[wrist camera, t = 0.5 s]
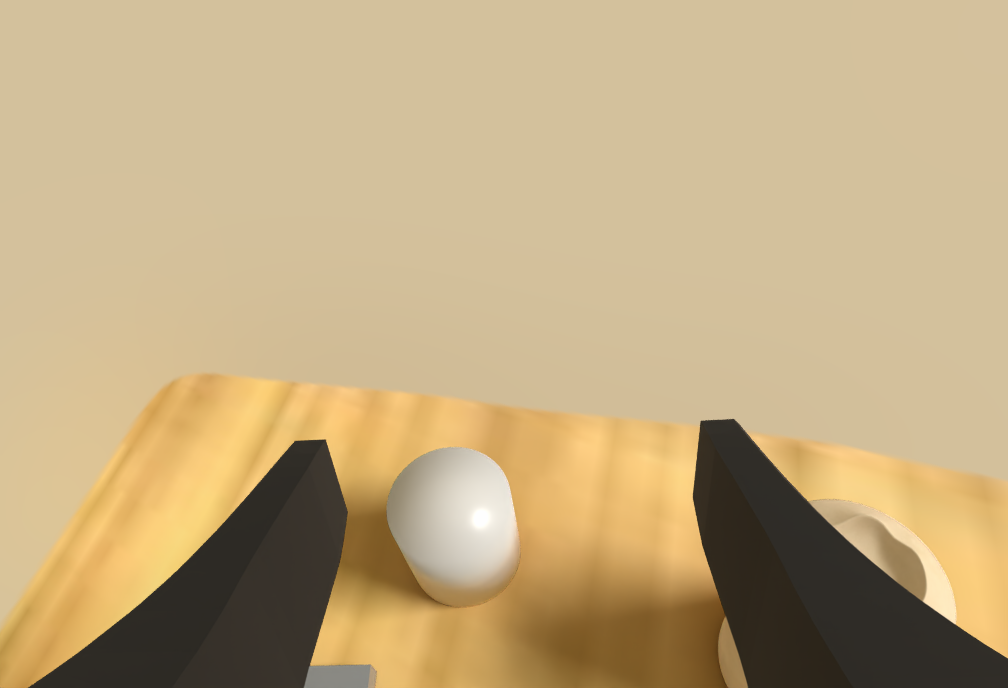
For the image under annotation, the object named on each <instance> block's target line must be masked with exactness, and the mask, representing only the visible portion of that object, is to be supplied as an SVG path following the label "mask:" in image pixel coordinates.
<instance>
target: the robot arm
mask: <svg viewBox="0 0 1008 688" xmlns="http://www.w3.org/2000/svg"><path fill="white" fill-rule="evenodd" d="M693 501H694V506H695V511H696V516H697V521H698V526H699V531H700V536H701V540H702V545H703V549H704V552H705V555H706V558H707V561H708V564H709V567H710V570H711V573H712V576H713V580H714V583H715V586H716V589H717V592H718V595H719V598H720V601H721V604H722V606H723V609H724V612H725V615H726V618H727V621H728V624H729V627H730V630H731V633H732V636H733V639H734V642H735V645H736V648H737V651H738V654H739V657H740V661H741V664H742V668H743V671H744V675H745V678H746V682H747V686H748V688H1008V658H1006V657H1004V656H1003V655H1001V654H1000V653H998V652H996V651H995V650H993V649H992V648H990V647H988V646H987V645H985V644H984V643H982V642H980V641H979V640H977V639H976V638H974V637H973V636H971V635H970V634H968V633H967V632H965V631H964V630H962V629H961V628H960V627H958V626H957V625H955V624H954V623H953V622H951V621H950V620H948V619H947V618H945V617H944V616H943V615H941V614H940V613H938V612H937V611H936V610H934V609H933V608H931V607H930V606H928V605H927V604H926V603H924V602H923V601H921V600H920V599H919V598H917V597H916V596H915V595H913V594H912V593H911V592H909V591H908V590H907V589H905V588H904V587H903V586H901V585H900V584H899V583H898V582H896V581H895V580H894V579H893V578H891V577H890V576H889V575H888V574H887V573H885V572H884V571H883V570H882V569H880V568H879V567H878V566H877V565H876V564H874V563H873V562H872V561H871V560H870V559H868V558H867V557H866V556H865V555H864V554H863V553H862V552H860V551H859V550H858V549H857V548H856V547H855V546H854V545H853V544H852V543H850V542H849V541H848V540H847V539H846V538H845V537H844V536H843V535H842V534H841V533H840V532H839V531H838V530H836V529H835V528H834V527H833V526H832V525H831V524H830V523H829V522H828V521H827V520H826V519H825V518H824V517H823V516H822V515H821V514H820V513H819V512H818V511H817V510H816V509H815V508H814V507H813V506H812V505H811V504H810V503H809V502H808V501H807V500H806V499H805V498H804V497H803V496H802V495H801V494H800V493H799V492H798V491H797V489H796V488H795V487H794V486H793V485H792V484H791V483H790V482H789V481H788V480H787V479H786V478H785V477H784V476H783V474H782V473H781V472H780V471H779V470H778V469H777V468H776V467H775V466H774V464H773V463H772V462H771V461H770V460H769V459H768V458H767V456H766V455H765V454H764V453H763V452H762V451H761V450H760V448H759V447H758V446H757V445H756V444H755V442H754V441H753V440H752V439H751V438H750V436H749V435H748V434H747V433H746V432H745V430H744V429H743V428H742V427H741V426H740V425H739V424H738V423H737V422H736V421H735V420H734V419H729V420H728V419H727V420H708V421H707V420H706V421H701V423H700V433H699V442H698V452H697V461H696V471H695V481H694V490H693ZM347 513H348V511H347V508H346V505H345V502H344V498H343V495H342V492H341V488H340V485H339V482H338V479H337V475H336V472H335V469H334V465H333V462H332V459H331V456H330V452H329V449H328V446H327V442H326V439H325V440H305V441H295V442H294V443H293V444H292V445H291V446H290V447H289V448H288V450H287V451H286V452H285V453H284V454H283V455H282V456H281V458H280V459H279V460H278V461H277V462H276V463H275V465H274V466H273V467H272V468H271V469H270V470H269V472H268V473H267V474H266V475H265V476H264V478H263V479H262V480H261V481H260V482H259V483H258V485H257V486H256V487H255V488H254V489H253V490H252V492H251V493H250V494H249V495H248V496H247V497H246V498H245V500H244V501H243V502H242V503H241V504H240V505H239V506H238V507H237V509H236V510H235V511H234V512H233V513H232V514H231V515H230V516H229V517H228V519H227V520H226V521H225V522H224V523H223V524H222V525H221V526H220V527H219V528H218V530H217V531H216V532H215V533H214V534H213V535H212V536H211V537H210V538H209V539H208V540H207V541H206V542H205V543H204V544H203V545H202V546H201V547H200V548H199V549H198V550H197V551H196V552H195V553H194V554H193V555H192V556H191V557H190V558H189V559H188V560H187V561H186V562H185V563H184V564H183V565H182V566H181V567H180V568H179V569H178V570H177V571H176V572H175V573H174V574H173V575H172V576H171V577H170V578H169V579H168V580H166V581H165V582H164V583H163V584H162V585H161V586H160V587H159V588H157V589H156V590H155V591H154V592H153V593H152V594H151V595H150V596H148V597H147V598H146V599H145V600H144V601H143V602H142V603H140V604H139V605H138V606H137V607H136V608H135V609H133V610H132V611H131V612H130V613H128V614H127V615H126V616H125V617H123V618H122V619H121V620H120V621H118V622H117V623H116V624H114V625H113V626H112V627H111V628H109V629H108V630H107V631H106V632H104V633H103V634H102V635H100V636H99V637H98V638H97V639H95V640H94V641H93V642H92V643H90V644H89V645H88V646H86V647H85V648H84V649H83V650H81V651H80V652H78V653H77V654H76V655H74V656H73V657H72V658H70V659H69V660H67V661H66V662H65V663H63V664H62V665H60V666H59V667H58V668H56V669H55V670H53V671H52V672H51V673H49V674H48V675H46V676H45V677H43V678H42V679H40V680H39V681H37V682H36V683H34V684H33V685H31V686H30V687H28V688H304V686H305V682H306V678H307V674H308V670H309V666H310V663H311V659H312V656H313V653H314V649H315V646H316V642H317V639H318V636H319V632H320V629H321V625H322V622H323V619H324V615H325V612H326V608H327V605H328V602H329V598H330V595H331V591H332V588H333V584H334V581H335V577H336V574H337V570H338V567H339V563H340V558H341V552H342V547H343V541H344V534H345V527H346V520H347Z"/></svg>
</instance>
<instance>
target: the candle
mask: <svg viewBox="0 0 1008 688" xmlns="http://www.w3.org/2000/svg"><path fill="white" fill-rule="evenodd" d="M809 503H810V504H811V505H812V506H813V507H814V508H815V509H816V510H817V511H818V512H819V513H820V514H821V515H822V516H823V517H824V518H825V519H826V520H827V521H828V522H829V523H830V524H831V525H832V526H833V527H834V528H835V529H836V530H838V531H839V532H840V533H841V534H842V535H843V536H844V537H845V538H846V539H847V540H848V541H849V542H850V543H852V544H853V545H854V546H855V547H856V548H857V549H858V550H859V551H860V552H862V553H863V554H864V555H865V556H866V557H867V558H868V559H870V560H871V561H872V562H873V563H874V564H876V565H877V566H878V567H879V568H880V569H882V570H883V571H884V572H885V573H887V574H888V575H889V576H890V577H891V578H893V579H894V580H895V581H896V582H898V583H899V584H900V585H901V586H903V587H904V588H905V589H907V590H908V591H909V592H911V593H912V594H913V595H915V596H916V597H917V598H919V599H920V600H921V601H923V602H924V603H926V604H927V605H928V606H930V607H931V608H933V609H934V610H936V611H937V612H938V613H940V614H941V615H943V616H944V617H945V618H947V619H948V620H950V621H951V622H953V623H954V624H955V625H956V605H955V600H954V595H953V591H952V588H951V586H950V583H949V580H948V578H947V576H946V574H945V572H944V570H943V568H942V566H941V565H940V563H939V562H938V560H937V558H936V557H935V556H934V554H933V553H932V552H931V551H930V549H929V548H928V547H927V546H926V545H925V544H924V543H923V542H922V541H921V539H920V538H919V537H918V536H916V535H915V534H914V533H913V532H912V531H911V530H909V529H908V528H907V527H906V526H904V525H903V524H901V523H900V522H898V521H897V520H895V519H894V518H892V517H890V516H888V515H887V514H885V513H883V512H881V511H878V510H876V509H874V508H872V507H869V506H866V505H863V504H859V503H855V502H851V501H845V500H837V499H822V500H813V501H809ZM718 656H719V664H720V668H721V672H722V675H723V678H724V681H725V683H726V685H727V687H728V688H748V686H747V682H746V678H745V675H744V671H743V668H742V664H741V661H740V657H739V654H738V651H737V648H736V645H735V642H734V639H733V636H732V633H731V630H730V627H729V624H728V621H727V618H726V616H725V618H724V621H723V623H722V626H721V630H720V633H719V639H718Z"/></svg>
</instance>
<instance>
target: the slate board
mask: <svg viewBox="0 0 1008 688" xmlns="http://www.w3.org/2000/svg"><path fill="white" fill-rule="evenodd" d="M376 673H377V671H376V670H375V669H374V668H373V667H372V666H371V665H335V666H309V670H308V674H307V678H306V682H305V686H304V688H375V682H376Z"/></svg>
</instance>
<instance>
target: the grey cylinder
mask: <svg viewBox="0 0 1008 688" xmlns="http://www.w3.org/2000/svg"><path fill="white" fill-rule="evenodd" d="M386 512H387V521H388V525H389V528H390V531H391V533H392V535H393V537H394V539H395V541H396V542H397V544H398V546H399V548H400V550H401V552H402V554H403V556H404V557H405V559H406V561H407V563H408V565H409V567H410V569H411V571H412V572H413V574H414V576H415V578H416V580H417V582H418V583H419V585H420V587H421V588H422V589H423V590H424V592H425V593H427V594H428V595H429V596H430V597H431V598H433V599H434V600H436V601H438V602H440V603H442V604H445V605H448V606H453V607H472V606H476V605H480V604H483V603H485V602H487V601H489V600H491V599H493V598H494V597H496V596H497V595H499V594H500V593H501V592H502V591H503V590H504V589H505V588H506V587H507V586H508V585H509V583H510V582H511V580H512V579H513V577H514V575H515V573H516V571H517V568H518V565H519V562H520V556H521V545H520V538H519V533H518V528H517V523H516V518H515V512H514V507H513V502H512V497H511V492H510V487H509V483H508V481H507V478H506V476H505V474H504V473H503V471H502V470H501V468H500V467H499V466H498V465H497V464H496V463H495V462H494V461H493V460H492V459H490V458H489V457H488V456H486V455H484V454H482V453H480V452H478V451H475V450H472V449H468V448H462V447H448V448H442V449H437V450H434V451H431V452H428V453H426V454H424V455H422V456H420V457H419V458H417V459H415V460H414V461H413V462H411V463H410V464H409V465H408V466H407V467H406V468H405V469H404V470H403V471H402V472H401V473H400V474H399V476H398V477H397V479H396V480H395V482H394V484H393V486H392V488H391V490H390V493H389V496H388V501H387V511H386Z"/></svg>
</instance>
